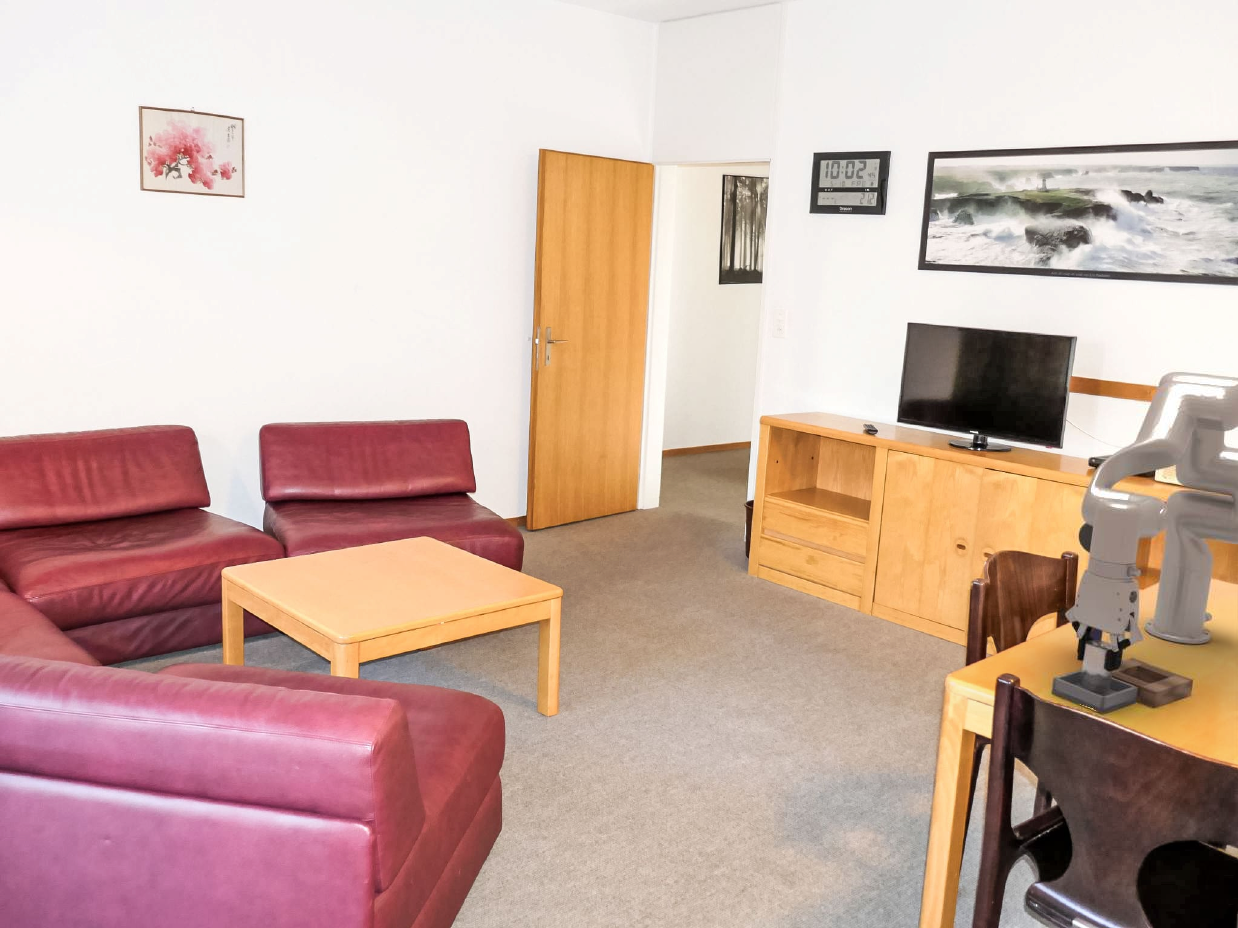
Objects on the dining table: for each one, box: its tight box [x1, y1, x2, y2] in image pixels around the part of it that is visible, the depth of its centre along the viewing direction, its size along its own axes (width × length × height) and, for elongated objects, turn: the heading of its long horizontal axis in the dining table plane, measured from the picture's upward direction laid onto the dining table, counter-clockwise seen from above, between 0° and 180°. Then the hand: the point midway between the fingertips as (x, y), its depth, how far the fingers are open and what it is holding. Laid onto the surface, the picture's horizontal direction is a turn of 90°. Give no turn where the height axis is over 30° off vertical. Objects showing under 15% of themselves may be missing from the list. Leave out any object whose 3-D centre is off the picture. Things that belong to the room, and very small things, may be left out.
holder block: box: [1112, 657, 1194, 709], centre depth 198 cm, size 12×12×3 cm
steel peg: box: [1080, 640, 1112, 692], centre depth 193 cm, size 5×5×8 cm
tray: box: [1051, 669, 1138, 715], centre depth 194 cm, size 10×10×3 cm
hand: (1097, 663), depth 193 cm, fingers closed on steel peg, 5 cm apart
